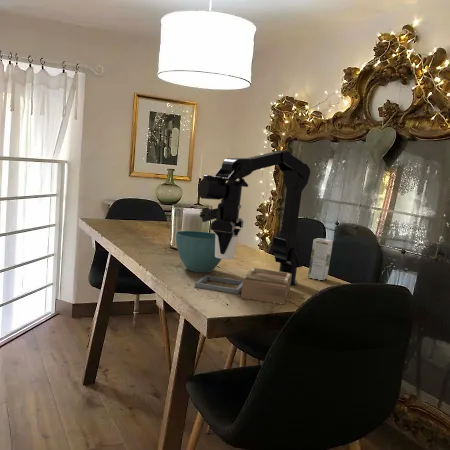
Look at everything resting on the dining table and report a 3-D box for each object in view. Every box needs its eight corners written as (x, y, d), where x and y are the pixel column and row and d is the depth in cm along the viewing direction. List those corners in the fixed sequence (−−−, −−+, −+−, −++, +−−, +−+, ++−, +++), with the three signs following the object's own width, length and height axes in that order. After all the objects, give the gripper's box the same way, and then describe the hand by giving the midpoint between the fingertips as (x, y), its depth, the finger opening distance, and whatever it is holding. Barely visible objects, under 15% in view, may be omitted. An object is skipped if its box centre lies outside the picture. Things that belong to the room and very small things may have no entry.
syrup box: (312, 276, 179) (317, 237, 177) (327, 279, 176) (333, 240, 175) (307, 278, 174) (312, 238, 172) (323, 281, 171) (329, 241, 170)
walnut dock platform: (252, 283, 155) (254, 265, 154) (289, 289, 152) (292, 271, 152) (240, 297, 135) (243, 276, 135) (283, 304, 133) (286, 283, 132)
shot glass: (238, 260, 143) (240, 237, 143) (215, 259, 141) (218, 235, 141) (232, 256, 150) (234, 233, 149) (210, 254, 148) (213, 231, 147)
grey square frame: (205, 278, 154) (206, 274, 154) (245, 285, 152) (246, 281, 152) (194, 286, 142) (194, 282, 141) (238, 294, 139) (238, 290, 139)
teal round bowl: (177, 274, 155) (181, 236, 154) (168, 262, 173) (172, 228, 171) (231, 277, 160) (235, 241, 159) (217, 265, 178) (221, 232, 177)
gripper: (212, 196, 155) (206, 244, 156) (196, 198, 136) (190, 252, 138) (246, 201, 152) (240, 249, 154) (234, 203, 134) (228, 258, 136)
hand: (224, 252), depth 146 cm, fingers closed on shot glass, 6 cm apart
